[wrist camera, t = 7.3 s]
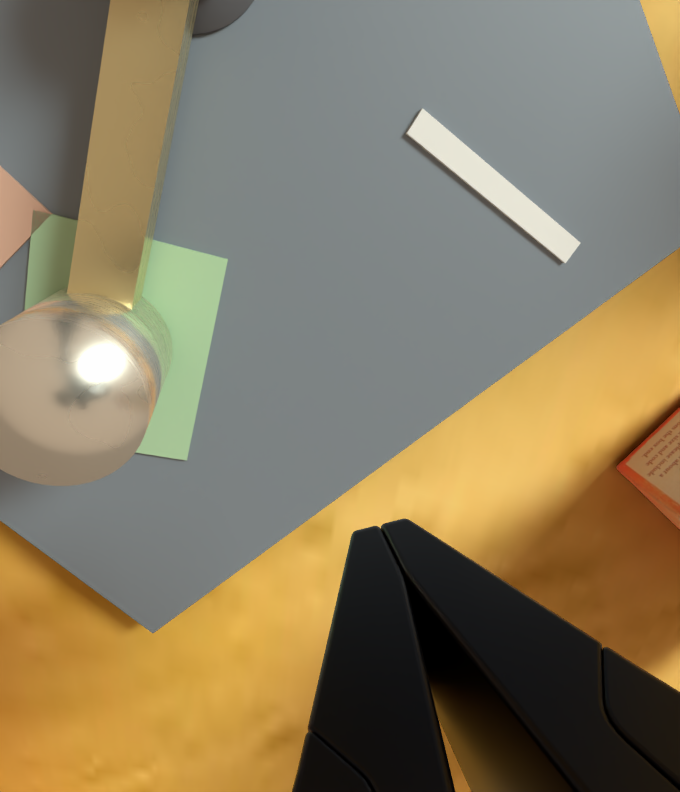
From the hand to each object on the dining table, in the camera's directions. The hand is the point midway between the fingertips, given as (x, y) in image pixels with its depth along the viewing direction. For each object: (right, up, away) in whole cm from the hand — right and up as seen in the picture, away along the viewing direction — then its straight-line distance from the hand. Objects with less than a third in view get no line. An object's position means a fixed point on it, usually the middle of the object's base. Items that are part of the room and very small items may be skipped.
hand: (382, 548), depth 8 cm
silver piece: (-6, +9, +7) cm, 13 cm away
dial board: (-4, +8, +9) cm, 13 cm away
